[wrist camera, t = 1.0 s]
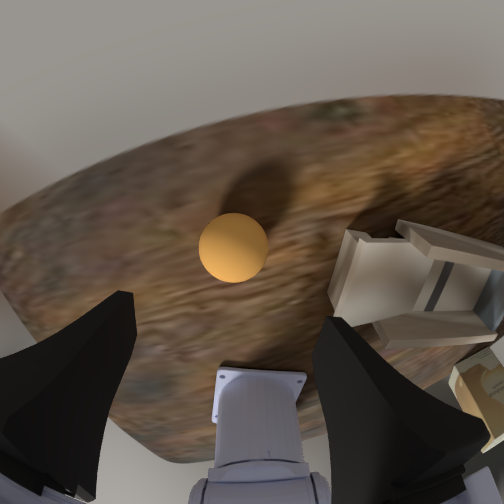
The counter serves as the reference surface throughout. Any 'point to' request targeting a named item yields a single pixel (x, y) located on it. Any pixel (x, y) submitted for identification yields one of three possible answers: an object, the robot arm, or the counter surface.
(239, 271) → the ball
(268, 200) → the counter surface
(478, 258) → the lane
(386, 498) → the robot arm
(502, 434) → the skincare box
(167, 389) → the counter surface
